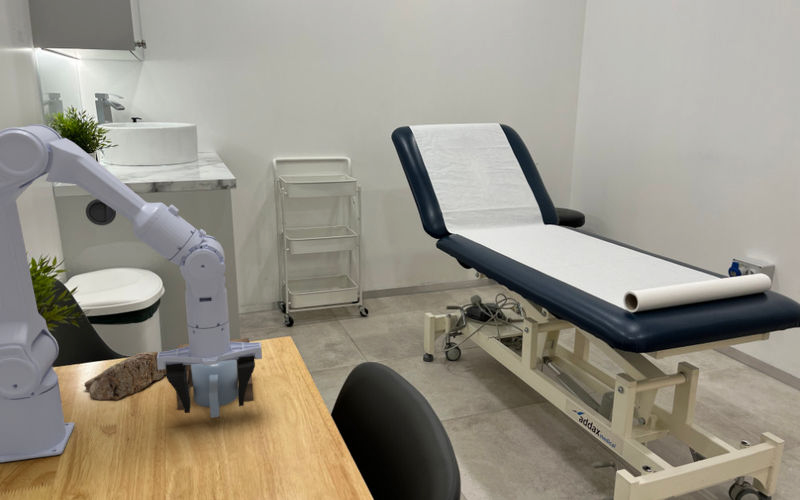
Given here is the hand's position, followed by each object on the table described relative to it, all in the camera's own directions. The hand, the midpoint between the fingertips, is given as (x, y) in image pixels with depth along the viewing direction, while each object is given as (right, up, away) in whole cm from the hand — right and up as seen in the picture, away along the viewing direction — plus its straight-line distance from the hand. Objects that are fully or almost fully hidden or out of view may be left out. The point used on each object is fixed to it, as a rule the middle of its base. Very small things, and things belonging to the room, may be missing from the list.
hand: (214, 406), depth 90 cm
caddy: (-3, 0, +10) cm, 10 cm away
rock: (-18, +1, +14) cm, 23 cm away
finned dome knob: (-1, -1, +5) cm, 6 cm away
